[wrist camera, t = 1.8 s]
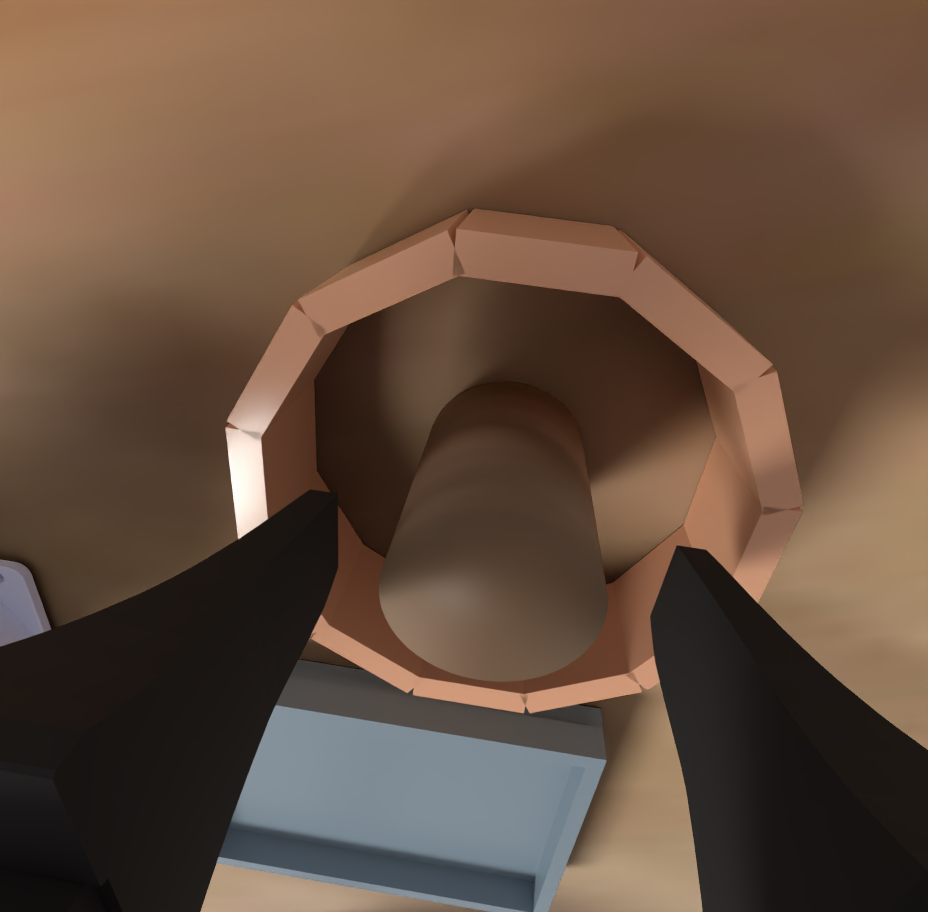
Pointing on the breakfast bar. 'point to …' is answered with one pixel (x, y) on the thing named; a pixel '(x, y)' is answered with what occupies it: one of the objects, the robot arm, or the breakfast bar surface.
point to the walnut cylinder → (498, 541)
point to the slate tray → (416, 792)
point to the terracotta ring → (552, 266)
